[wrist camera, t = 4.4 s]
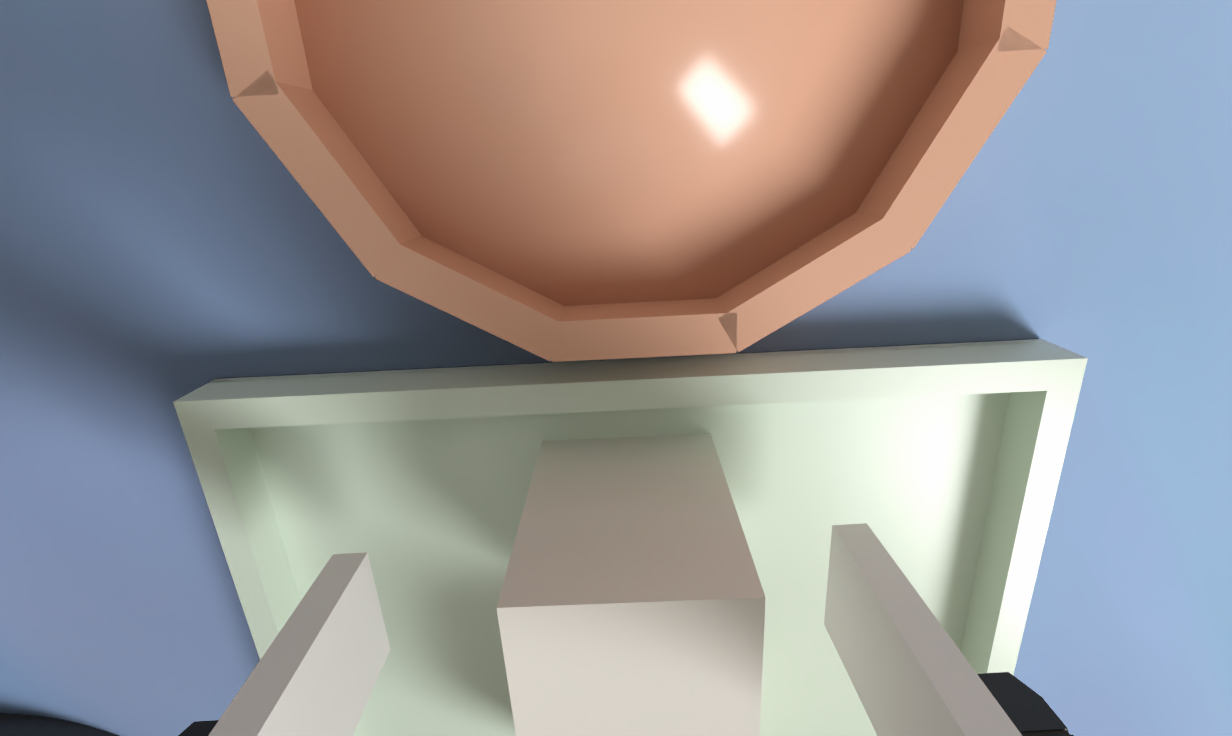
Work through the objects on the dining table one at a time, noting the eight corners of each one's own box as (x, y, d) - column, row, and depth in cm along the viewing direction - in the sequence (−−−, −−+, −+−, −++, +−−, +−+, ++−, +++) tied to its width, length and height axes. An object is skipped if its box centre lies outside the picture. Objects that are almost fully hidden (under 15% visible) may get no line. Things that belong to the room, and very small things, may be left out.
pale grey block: (556, 578, 17) (524, 793, 11) (542, 440, 15) (495, 608, 10) (710, 572, 17) (757, 785, 11) (710, 433, 15) (765, 597, 9)
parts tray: (342, 794, 20) (321, 842, 19) (214, 378, 15) (172, 401, 14) (952, 775, 20) (978, 822, 18) (1041, 339, 14) (1087, 358, 13)
